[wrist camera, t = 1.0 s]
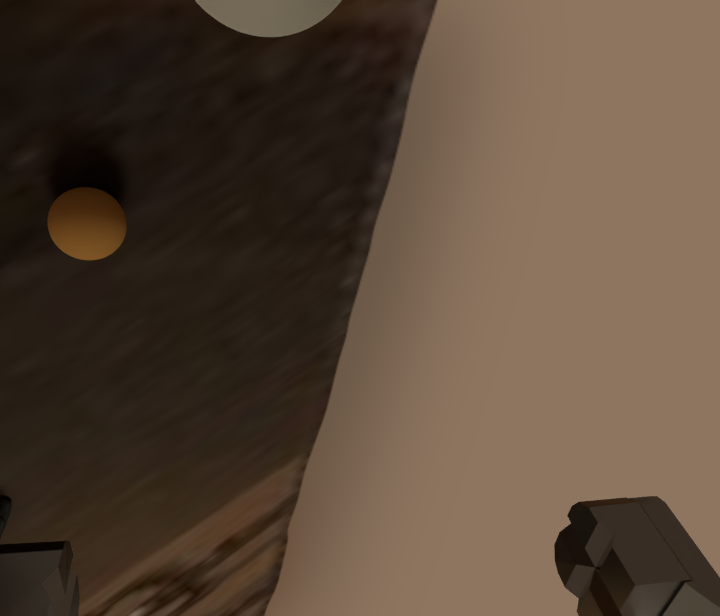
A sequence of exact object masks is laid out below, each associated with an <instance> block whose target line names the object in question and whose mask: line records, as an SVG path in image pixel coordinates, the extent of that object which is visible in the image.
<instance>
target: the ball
mask: <svg viewBox="0 0 720 616" xmlns="http://www.w3.org/2000/svg"><path fill="white" fill-rule="evenodd" d="M126 228H127V223H126V217H125V214H124V211H123V209H122V207H121V206H120V204H119V203H118V202H117V201H116V200H115V199H114V198H113V197H112V196H111V195H109V194H108V193H106V192H104V191H102V190H99V189H96V188H91V187H79V188H74V189H71V190H68V191H66V192H65V193H63V194H62V195H60V196H59V197H58V198H57V199H56V200H55V201H54V203H53V204H52V206H51V208H50V211H49V214H48V230H49V233H50V236H51V238H52V240H53V241H54V243H55V244H56V245H57V246H58V247H59V248H60V249H61V250H62V251H63V252H65V253H66V254H68V255H70V256H72V257H74V258H77V259H81V260H97V259H101V258H104V257H106V256H108V255H110V254H112V253H113V252H114V251H116V249H117V248H118V247H119V246H120V245H121V243H122V242H123V240H124V237H125V234H126Z"/></svg>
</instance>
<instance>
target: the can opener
mask: <svg viewBox="0 0 720 616" xmlns="http://www.w3.org/2000/svg"><path fill="white" fill-rule="evenodd" d="M11 508H12V505H11V502H10V501H9V500H8V499H6V498H0V538H1V535H2V533H3V531H4V528H5V526H6V523H7V520H8V517H9V514H10V511H11Z"/></svg>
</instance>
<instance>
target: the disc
mask: <svg viewBox="0 0 720 616" xmlns="http://www.w3.org/2000/svg"><path fill="white" fill-rule="evenodd" d="M195 1H196V2H197V3H198V4H199V5H200V6H201V7H202V8H203V9H204V10H205V11H206V12H207V13H208V14H210V15H211V16H212V17H214V18H215V19H216V20H217V21H219V22H221V23H223V24H224V25H226V26H228V27H230V28H232V29H234V30H237V31H239V32H242V33H246V34H249V35H253V36H261V37H279V36H286V35H291V34H294V33H298V32H301V31H303V30H305V29H307V28H310V27H311V26H313V25H315V24H316V23H318V22H320V21H321V20H322V19H324V18H325V17H326V16H327V15H328V14H330V13H331V12H332V11H333V10H334V9H335V8H336V6H337V5H338V4H339V3H340V2H341V0H195Z"/></svg>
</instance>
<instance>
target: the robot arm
mask: <svg viewBox="0 0 720 616" xmlns="http://www.w3.org/2000/svg"><path fill="white" fill-rule="evenodd" d="M568 517H569V520H570V522H571V524H570V525H568V526H567V527H566V528H565V529H563V530H562V531H561V532H560V533H559V535H558V538H557V540H556V543H555V545H554V546H555V563H556V567H557V570H558V574H559V576H560V578H561V580H562V582H563V584H564V586H565V588H567V589H568V590H569V591H570V592H572V593H573V594H574V595H575V596H576V597H578V598H579V601H578V608H577V613H578V615H579V616H720V578H719V576H718V575H717V573H716V572H715V571H714V569H713V568H712V566H711V565H710V564H709V562H708V561H707V560H706V558H705V557H704V555H703V554H702V553H701V551H700V550H699V548H698V547H697V546H696V544H695V543H694V541H693V540H692V539H691V537H690V536H689V535H688V533H687V532H686V531H685V529H684V528H683V526H682V525H681V524H680V522H679V521H678V519H677V518H676V517H675V515H674V514H673V513H672V511H671V510H670V509H669V507H668V506H667V504H666V503H665V502H664V501H662V500H661V499H660V498H658V497H657V496H650V497H638V498H629V499H628V498H616V499H606V500H595V501H584V502H578V503H576V504H575V505H573V506H572V507H571V509H570V511H569V513H568ZM72 559H73V551H72V547H71V543H70V541H56V542H38V543H20V544H2V545H0V616H78V611H79V599H80V597H79V581H78V576H77V573H76V572H74V571H73V570H71V564H72Z"/></svg>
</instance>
